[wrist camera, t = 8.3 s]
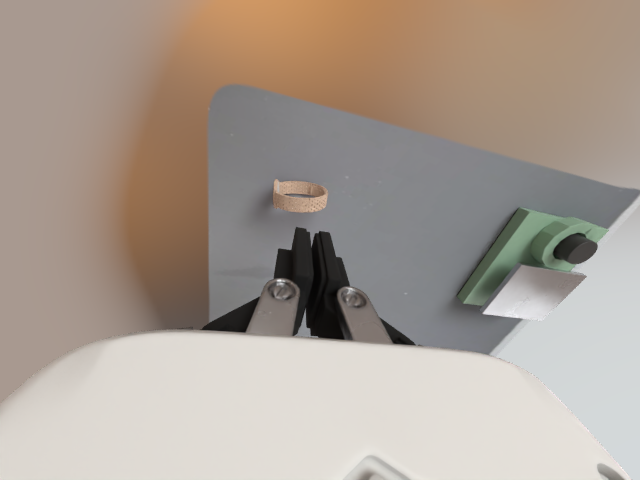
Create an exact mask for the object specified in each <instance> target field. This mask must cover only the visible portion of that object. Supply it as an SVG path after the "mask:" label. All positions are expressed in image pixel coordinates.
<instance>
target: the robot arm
mask: <svg viewBox="0 0 640 480" xmlns="http://www.w3.org/2000/svg"><path fill="white" fill-rule="evenodd" d="M305 308H306V325H307V328H310V330H311V336H318V337H319V338H312V337H299V336H294V335H296V334H297V333H298V330H299V327H300V326H301V323H302V319H303V315H304V312H305ZM0 480H632V479H631V478H630V477H629V476H628V475H627V473H626V472H625V471H624V470H623V469H622V468H621V466H620V465H619V464H618V463H617V462H616V461H615V460H614V459H613V458H612V457H611V455H610V454H609V453H608V452H607V451H606V450H605V449H604V447H603V446H602V445H601V444H600V443H599V442H598V441H597V440H596V438H595V437H594V436H593V435H592V434H591V433H590V432H589V431H588V430H587V429H586V427H585V426H584V425H583V424H582V423H581V422H580V421H579V420H578V419H577V418H576V416H575V415H574V414H573V413H572V412H571V411H570V410H569V409H568V408H567V407H566V406H565V405H564V404H563V403H562V402H561V401H560V399H558V397H557V396H556V395H555V394H554V393H553V392H552V391H550V389H549V388H547V387H546V386H545V385H544V384H543V383H542V382H541V381H540V380H539V379H538V378H537V377H535V376H534V375H532V374H531V373H529V372H528V371H526V370H524V369H522V368H520V367H518V366H516V365H514V364H512V363H510V362H507V361H505V360H502V359H500V358H496V357H493V356H490V355H486V354H482V353H477V352H472V351H464V350H456V349H448V348H437V347H426V346H422V345H418V346H416V345H415V344H414V342H412V341H411V340H410V339H409V338H407V337H406V336H405V335H403V334H402V333H400V332H399V331H398V330H396V329H395V328H394V327H392V326H391V325H389V324H388V323H387V322H385V321H384V320H382V319H381V318H380V317H379V316H378V314H377V312H376V311H375V309H374V307H373V305H372V303H371V301H370V300H369V298H368V296H367V295H366V294H365V293H364V292H363V291H361V290H359V289H358V288H355V287H350V284H349V281H348V278H347V274H346V271H345V267H344V264H343V261H342V258H340V257H336V255H335V251H334V247H333V243H332V239H331V236H330V233H328V232H322V231H319V233H315V236H314V240H313V244H312V248H311V240H310V232H306V229H304V228H298V227H296V229H295V234H294V239H293V244H292V249H291V250H286V249H278V254H277V260H276V267H275V273H274V279H272V280H270V281H269V282H267V283H266V285H265V286H264V289H263V291H262V293H261V296H260V297H258V298H256V299H254V300H252V301H250V302H248V303H247V304H245V305H243V306H241V307H239V308H237V309H235V310H233V311H231V312H229V313H227V314H225V315H224V316H222V317H220V318H218V319H216V320H214V321H212V322H210V323H209V324H207V325H206V326H204V327H203V329H200V330H193V327H190V328H181V329H170V330H150V331H142V332H134V333H128V334H123V335H118V336H114V337H109V338H105V339H102V340H98V341H95V342H92V343H89V344H86V345H83V346H80V347H78V348H76V349H74V350H71V351H69V352H67V353H65V354H63V355H62V356H60V357H58V358H57V359H55V360H53V361H52V362H50V363H49V364H48V365H46V366H45V367H43V368H42V369H40V370H39V371H38V372H37V373H35V374H34V375H33V376H31V377H30V378H29V379H28V380H27V381H25V382H24V383H23V384H22V385H21V386H20V387H18V388H17V389H16V390H15V391H14V392H13V393H11V394H10V395H9V396H8V397H7V398H6V399H5V400H3V401H2V402H1V403H0Z"/></svg>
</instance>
